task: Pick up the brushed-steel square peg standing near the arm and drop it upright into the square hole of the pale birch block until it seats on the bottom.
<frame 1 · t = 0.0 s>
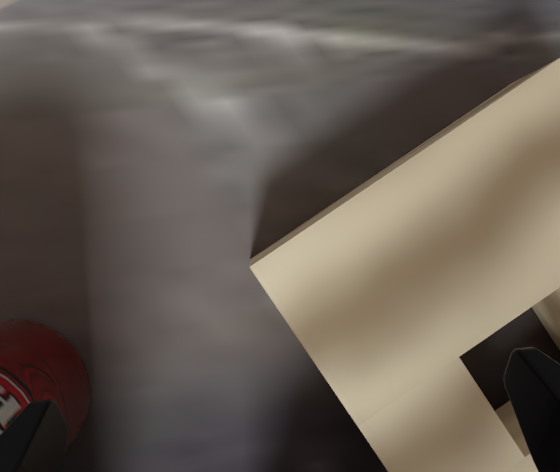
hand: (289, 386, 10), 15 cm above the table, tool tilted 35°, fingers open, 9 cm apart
hole block: (496, 348, 25), on the table
soda can: (21, 388, 24), on the table
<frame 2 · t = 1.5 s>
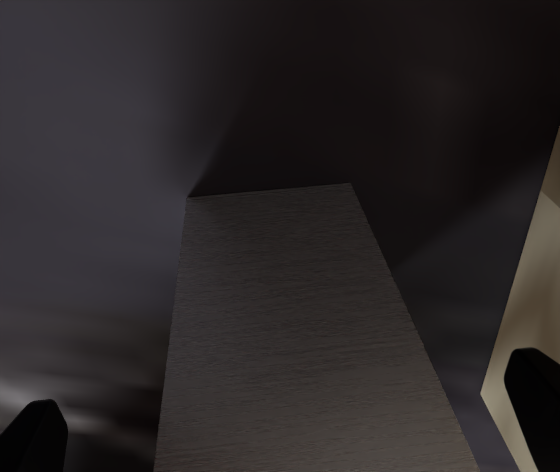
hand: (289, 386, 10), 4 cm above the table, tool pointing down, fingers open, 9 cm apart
steel peg: (273, 255, 13), on the table
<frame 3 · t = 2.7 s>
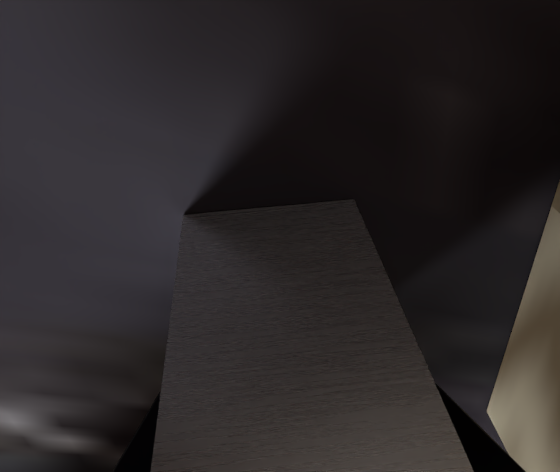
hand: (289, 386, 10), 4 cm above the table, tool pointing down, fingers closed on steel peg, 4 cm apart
steel peg: (274, 273, 12), on the table, touching gripper
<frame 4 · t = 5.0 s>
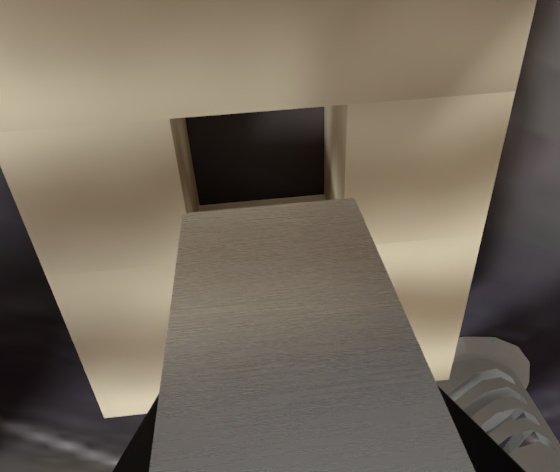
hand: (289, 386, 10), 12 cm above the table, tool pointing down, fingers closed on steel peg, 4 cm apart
steel peg: (273, 272, 12), point 9 cm above the table, touching gripper
hole block: (257, 141, 19), on the table
french press: (437, 394, 30), on the table
when the fingers open (5 cm above the table, at t = 7.6 s): steel peg drops 1 cm, resting in hole block.
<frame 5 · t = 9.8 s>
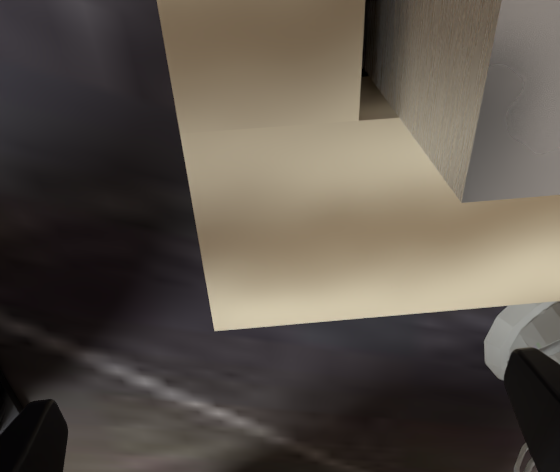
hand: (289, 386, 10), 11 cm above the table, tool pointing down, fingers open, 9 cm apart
french press: (553, 334, 27), on the table
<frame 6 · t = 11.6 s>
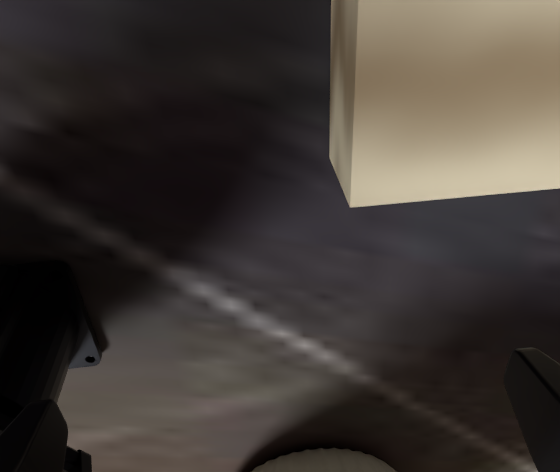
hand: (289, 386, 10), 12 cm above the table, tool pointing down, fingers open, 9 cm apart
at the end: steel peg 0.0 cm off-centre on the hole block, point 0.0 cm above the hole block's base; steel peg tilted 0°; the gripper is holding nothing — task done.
